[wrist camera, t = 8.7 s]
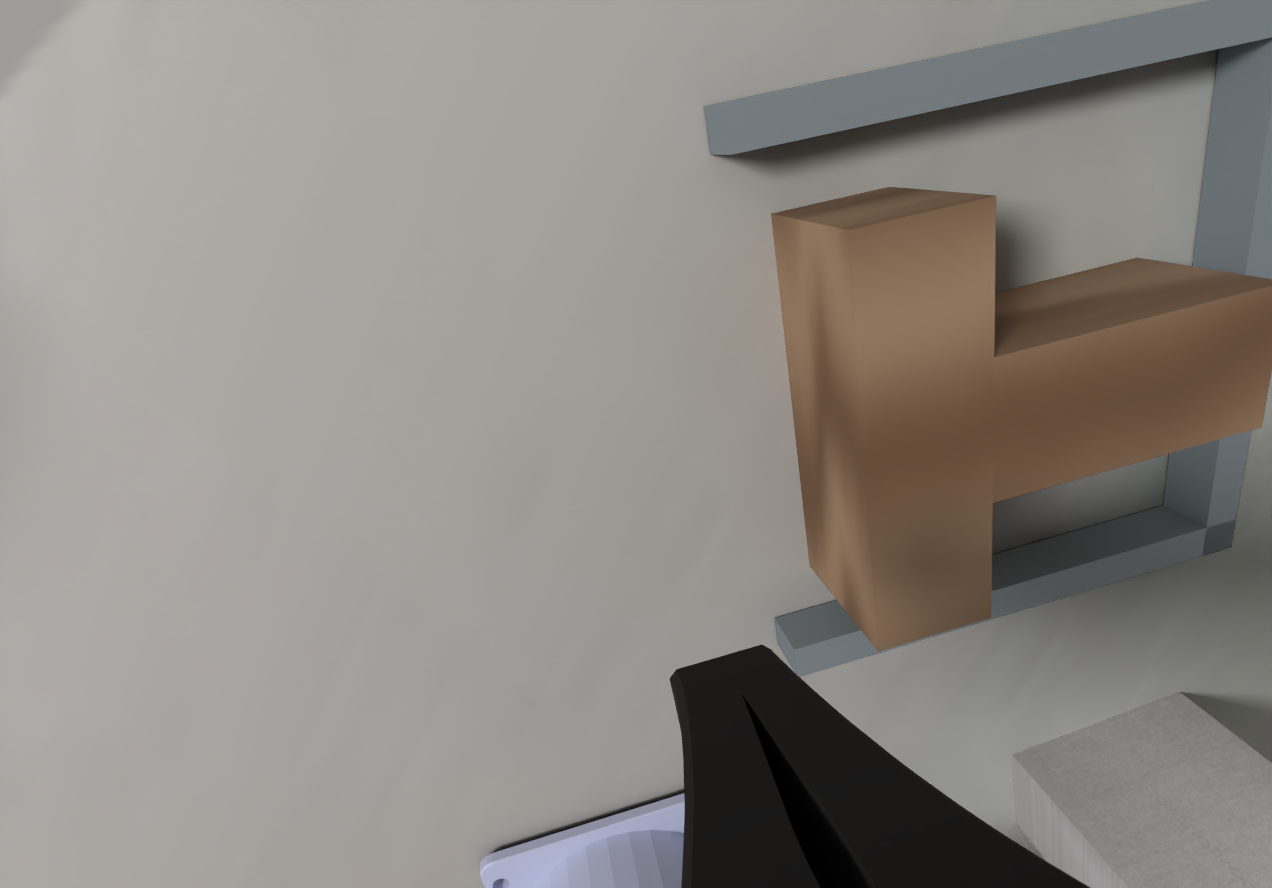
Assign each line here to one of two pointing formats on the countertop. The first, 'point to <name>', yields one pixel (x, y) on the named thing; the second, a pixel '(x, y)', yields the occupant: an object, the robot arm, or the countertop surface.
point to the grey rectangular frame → (1225, 241)
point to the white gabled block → (1150, 801)
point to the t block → (981, 389)
